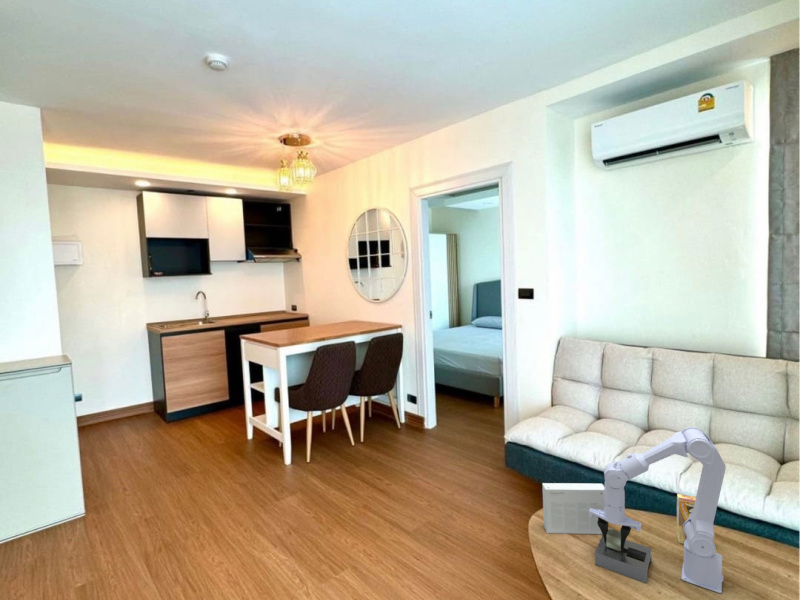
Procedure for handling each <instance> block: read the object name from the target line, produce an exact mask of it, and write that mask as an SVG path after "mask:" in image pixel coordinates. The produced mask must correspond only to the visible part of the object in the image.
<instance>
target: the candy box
mask: <svg viewBox="0 0 800 600" xmlns="http://www.w3.org/2000/svg"><path fill="white" fill-rule="evenodd" d="M695 499H696V496H693V495H686V494H680V493H677V495H676V538H677V541H678V543H679V544H683V545H684V542H685V540H686V538H687V536H686V534H685V532H684V530H683V524H684V523H685V521H687V520H688V518H689V515H690V513H692V512H693V509H694V504H695Z"/></svg>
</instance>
